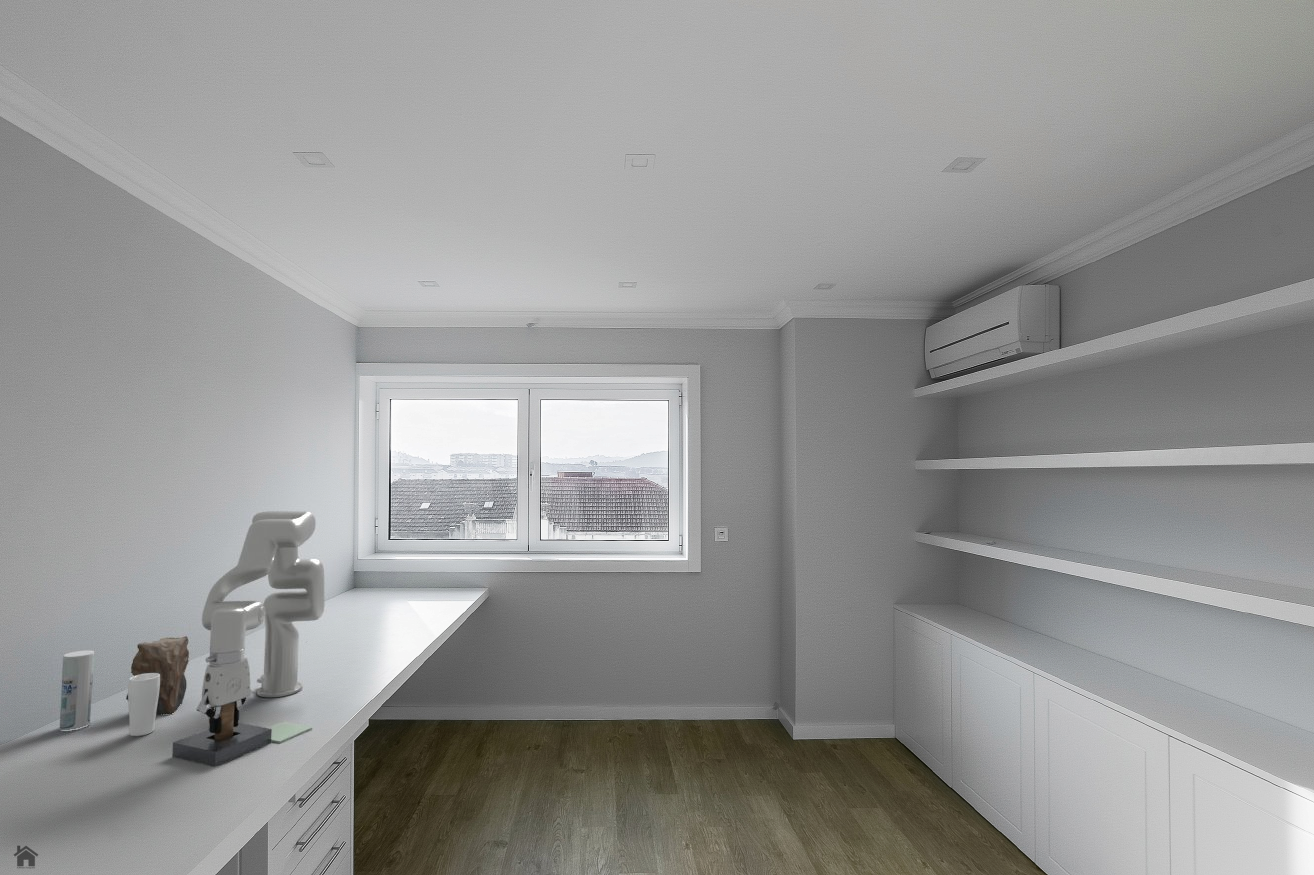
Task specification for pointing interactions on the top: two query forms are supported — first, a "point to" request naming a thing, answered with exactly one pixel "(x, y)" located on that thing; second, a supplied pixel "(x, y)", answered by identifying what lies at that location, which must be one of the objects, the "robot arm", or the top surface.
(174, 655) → the jagged brown boulder
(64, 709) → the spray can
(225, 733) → the tan rounded cylinder
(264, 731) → the dark grey socket block
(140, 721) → the drinking glass
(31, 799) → the top surface
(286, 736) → the set down mat
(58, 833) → the top surface
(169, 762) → the top surface
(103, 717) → the top surface
